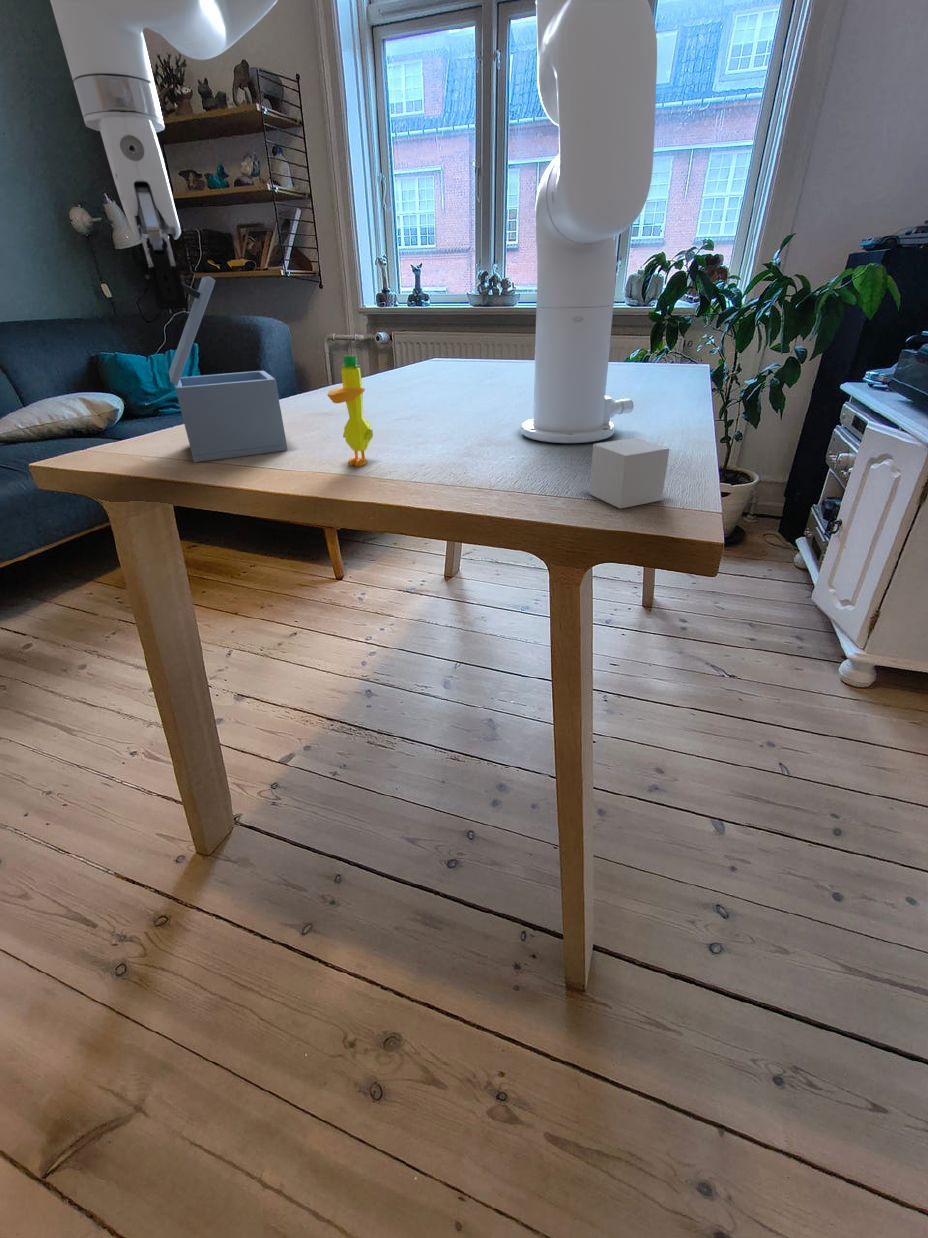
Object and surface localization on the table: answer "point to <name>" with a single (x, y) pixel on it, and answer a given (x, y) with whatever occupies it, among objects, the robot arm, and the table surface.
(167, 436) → the table surface
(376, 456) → the table surface
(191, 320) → the box lid
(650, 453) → the pale grey cube
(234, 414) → the grey storage bin
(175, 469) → the table surface
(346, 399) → the toy figure
